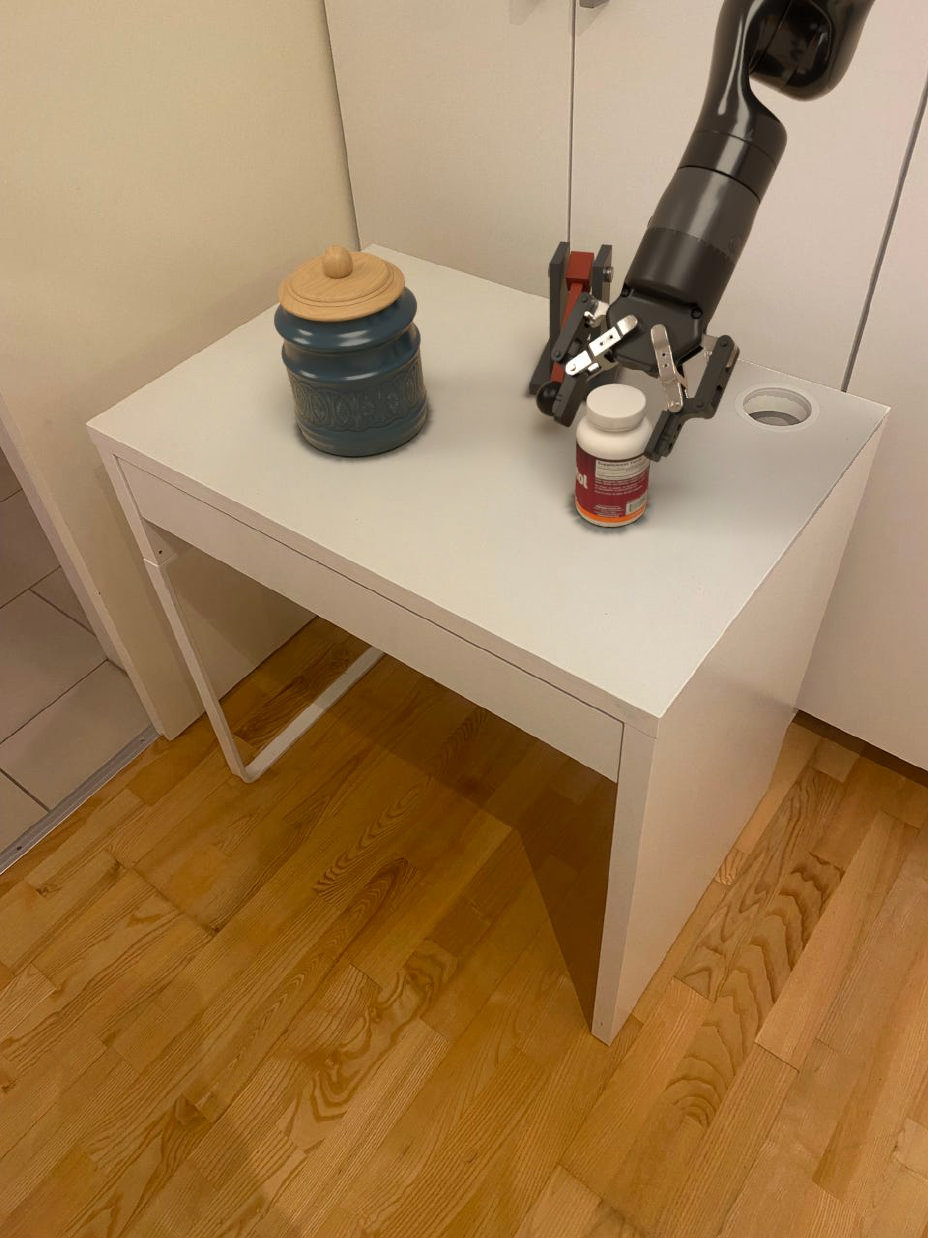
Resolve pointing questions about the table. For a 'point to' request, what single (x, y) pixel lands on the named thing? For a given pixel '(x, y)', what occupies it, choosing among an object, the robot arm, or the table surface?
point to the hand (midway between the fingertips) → (604, 441)
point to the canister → (352, 353)
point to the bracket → (558, 303)
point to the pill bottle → (612, 456)
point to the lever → (576, 284)
